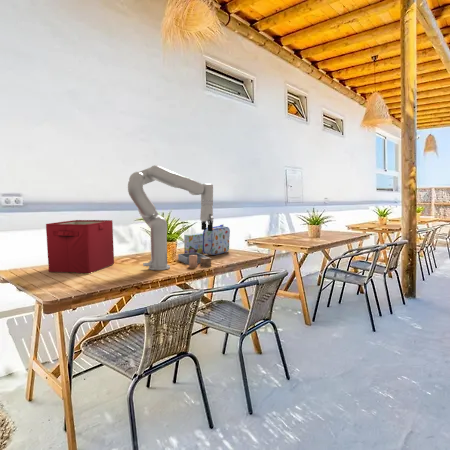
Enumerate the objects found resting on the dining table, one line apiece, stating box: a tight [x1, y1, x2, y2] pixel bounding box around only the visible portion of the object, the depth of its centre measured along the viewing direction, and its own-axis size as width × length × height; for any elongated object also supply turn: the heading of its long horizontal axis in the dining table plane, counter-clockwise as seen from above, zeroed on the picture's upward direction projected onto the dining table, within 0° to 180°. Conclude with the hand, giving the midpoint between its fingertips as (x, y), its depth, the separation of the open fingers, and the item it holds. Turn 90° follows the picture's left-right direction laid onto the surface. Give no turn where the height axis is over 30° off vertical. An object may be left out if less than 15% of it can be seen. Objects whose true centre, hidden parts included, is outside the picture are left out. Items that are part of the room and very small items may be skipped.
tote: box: [177, 253, 207, 265], centre depth 224 cm, size 14×18×4 cm
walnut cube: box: [200, 256, 212, 268], centre depth 209 cm, size 5×5×5 cm
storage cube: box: [45, 219, 115, 274], centre depth 203 cm, size 32×28×29 cm
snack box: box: [183, 232, 204, 254], centre depth 257 cm, size 21×6×15 cm, turn 143°
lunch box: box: [202, 224, 231, 256], centre depth 253 cm, size 28×10×22 cm, turn 149°
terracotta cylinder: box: [188, 255, 198, 268], centre depth 206 cm, size 5×5×7 cm
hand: (206, 230), depth 211 cm, fingers open, 9 cm apart
